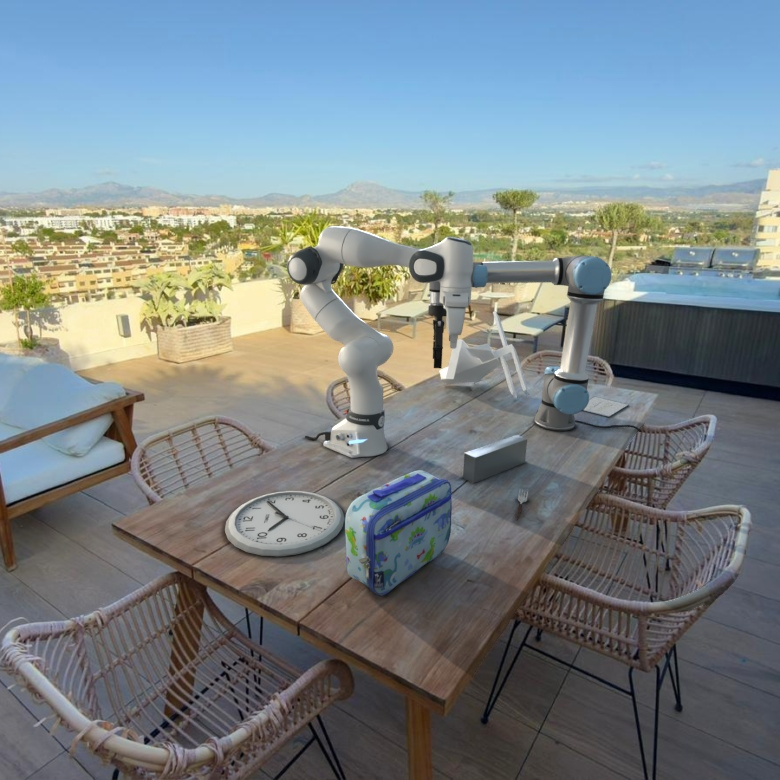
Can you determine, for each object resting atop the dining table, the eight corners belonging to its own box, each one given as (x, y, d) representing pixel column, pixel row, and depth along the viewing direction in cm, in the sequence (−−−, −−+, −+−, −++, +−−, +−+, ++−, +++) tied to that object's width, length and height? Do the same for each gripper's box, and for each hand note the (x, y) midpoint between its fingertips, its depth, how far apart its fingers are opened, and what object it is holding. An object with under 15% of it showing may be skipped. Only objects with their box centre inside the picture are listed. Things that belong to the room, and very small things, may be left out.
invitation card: (608, 416, 214) (573, 407, 224) (608, 416, 214) (573, 408, 224) (628, 404, 229) (594, 396, 238) (628, 405, 229) (594, 397, 238)
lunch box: (373, 608, 104) (374, 515, 98) (339, 582, 112) (337, 495, 105) (455, 554, 122) (460, 473, 116) (421, 535, 129) (424, 458, 123)
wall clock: (344, 547, 121) (211, 552, 118) (344, 554, 121) (212, 558, 119) (344, 486, 149) (237, 489, 147) (344, 491, 150) (237, 494, 147)
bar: (514, 457, 174) (516, 434, 172) (525, 462, 171) (527, 438, 169) (462, 477, 160) (464, 452, 157) (473, 483, 157) (475, 457, 154)
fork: (511, 521, 136) (512, 514, 136) (519, 493, 150) (519, 487, 150) (521, 523, 135) (522, 516, 135) (528, 495, 150) (528, 489, 149)
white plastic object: (461, 429, 252) (437, 405, 227) (444, 352, 274) (420, 323, 250) (535, 404, 240) (518, 377, 215) (510, 326, 262) (492, 293, 237)
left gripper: (443, 292, 159) (440, 336, 163) (445, 301, 139) (442, 351, 143) (464, 292, 158) (461, 337, 163) (468, 302, 139) (465, 352, 143)
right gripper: (428, 298, 193) (426, 354, 200) (429, 309, 170) (426, 372, 176) (448, 299, 193) (445, 355, 199) (452, 309, 169) (449, 372, 176)
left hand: (452, 344), depth 153 cm, fingers open, 8 cm apart
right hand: (436, 363), depth 188 cm, fingers open, 13 cm apart
